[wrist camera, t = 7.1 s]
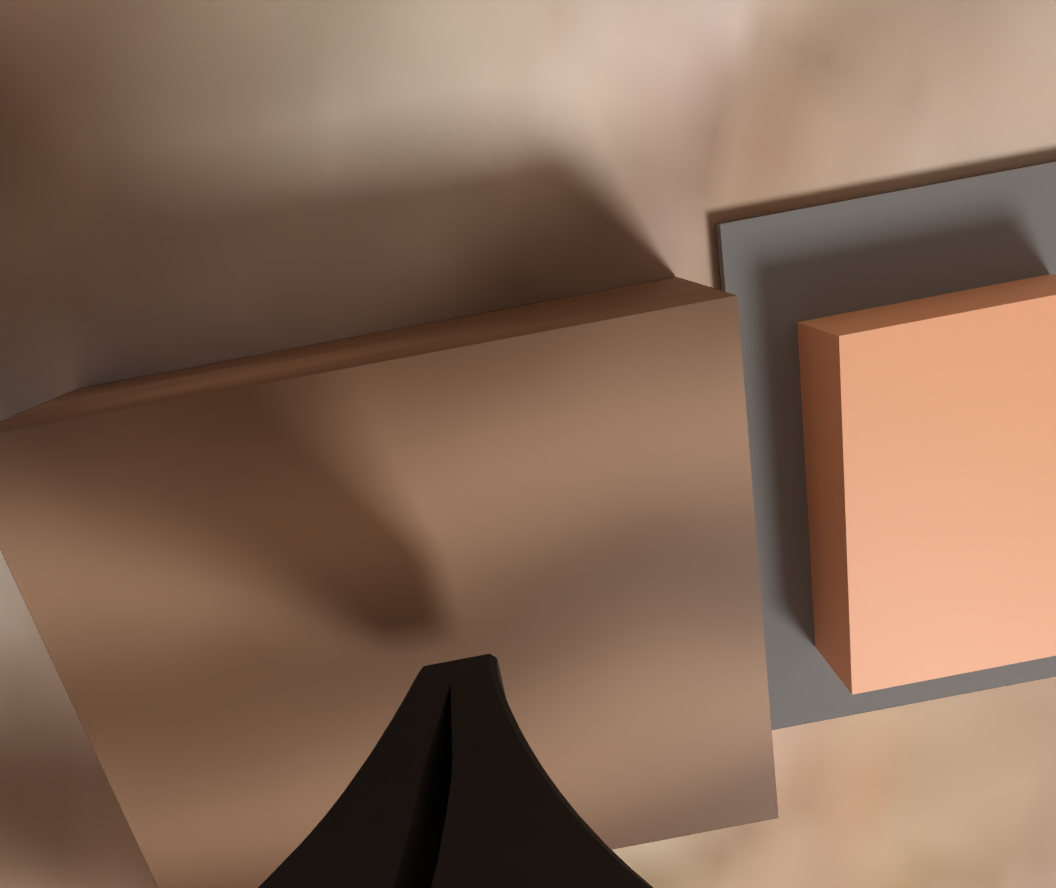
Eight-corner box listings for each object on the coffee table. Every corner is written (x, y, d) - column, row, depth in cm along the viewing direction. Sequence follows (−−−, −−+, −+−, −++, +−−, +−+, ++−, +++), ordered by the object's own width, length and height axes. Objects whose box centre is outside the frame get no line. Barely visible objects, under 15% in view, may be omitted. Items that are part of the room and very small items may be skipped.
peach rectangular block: (852, 694, 17) (815, 647, 19) (1091, 649, 17) (1030, 606, 19) (839, 335, 14) (797, 322, 16) (1125, 281, 14) (1049, 274, 16)
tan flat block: (721, 702, 20) (778, 818, 16) (236, 794, 20) (178, 931, 16) (677, 277, 16) (737, 295, 12) (77, 388, 16) (-50, 442, 12)
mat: (1165, 647, 20) (1175, 653, 20) (758, 724, 20) (762, 732, 20) (1236, 127, 16) (1250, 125, 15) (715, 224, 16) (719, 224, 15)
